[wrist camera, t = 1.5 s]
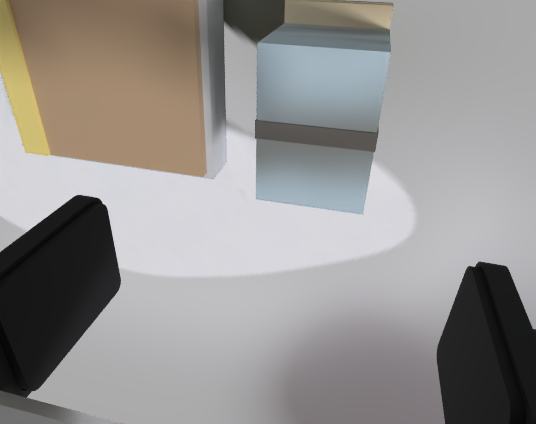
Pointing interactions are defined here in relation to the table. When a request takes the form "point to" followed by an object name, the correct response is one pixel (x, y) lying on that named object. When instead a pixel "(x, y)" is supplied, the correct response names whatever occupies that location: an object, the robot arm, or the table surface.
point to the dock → (118, 81)
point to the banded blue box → (321, 102)
